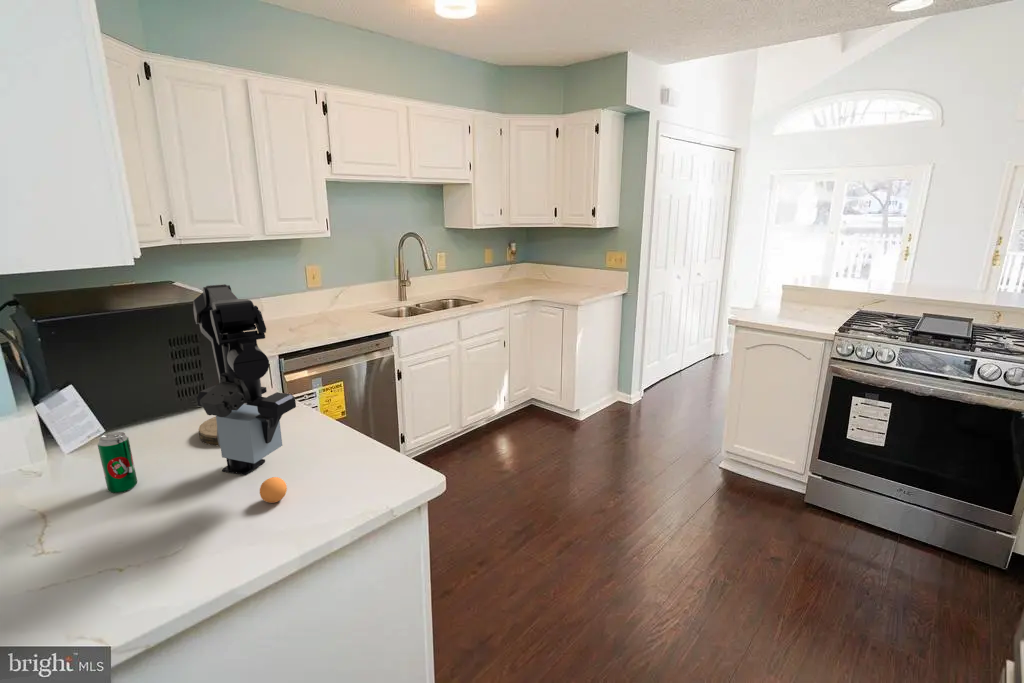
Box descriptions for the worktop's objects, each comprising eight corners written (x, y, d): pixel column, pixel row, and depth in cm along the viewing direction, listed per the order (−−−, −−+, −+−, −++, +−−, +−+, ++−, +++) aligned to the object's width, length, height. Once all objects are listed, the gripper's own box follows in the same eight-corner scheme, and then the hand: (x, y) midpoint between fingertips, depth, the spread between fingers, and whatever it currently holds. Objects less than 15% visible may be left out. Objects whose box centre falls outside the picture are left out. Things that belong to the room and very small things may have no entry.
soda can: (118, 482, 108) (107, 431, 105) (143, 481, 108) (133, 430, 105) (102, 495, 103) (90, 442, 100) (128, 494, 103) (116, 441, 100)
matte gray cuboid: (222, 457, 98) (215, 416, 95) (251, 440, 105) (246, 401, 103) (254, 463, 96) (248, 421, 93) (282, 445, 103) (277, 406, 101)
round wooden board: (263, 416, 143) (262, 406, 142) (272, 437, 130) (271, 426, 129) (198, 428, 134) (197, 418, 134) (201, 452, 122) (199, 441, 121)
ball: (255, 505, 100) (252, 483, 98) (272, 492, 104) (269, 471, 103) (277, 509, 99) (274, 487, 97) (293, 495, 103) (290, 474, 102)
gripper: (165, 373, 91) (179, 451, 95) (249, 385, 86) (260, 466, 90) (216, 356, 101) (226, 427, 105) (293, 366, 96) (301, 439, 100)
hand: (251, 439), depth 100 cm, fingers closed on matte gray cuboid, 8 cm apart
